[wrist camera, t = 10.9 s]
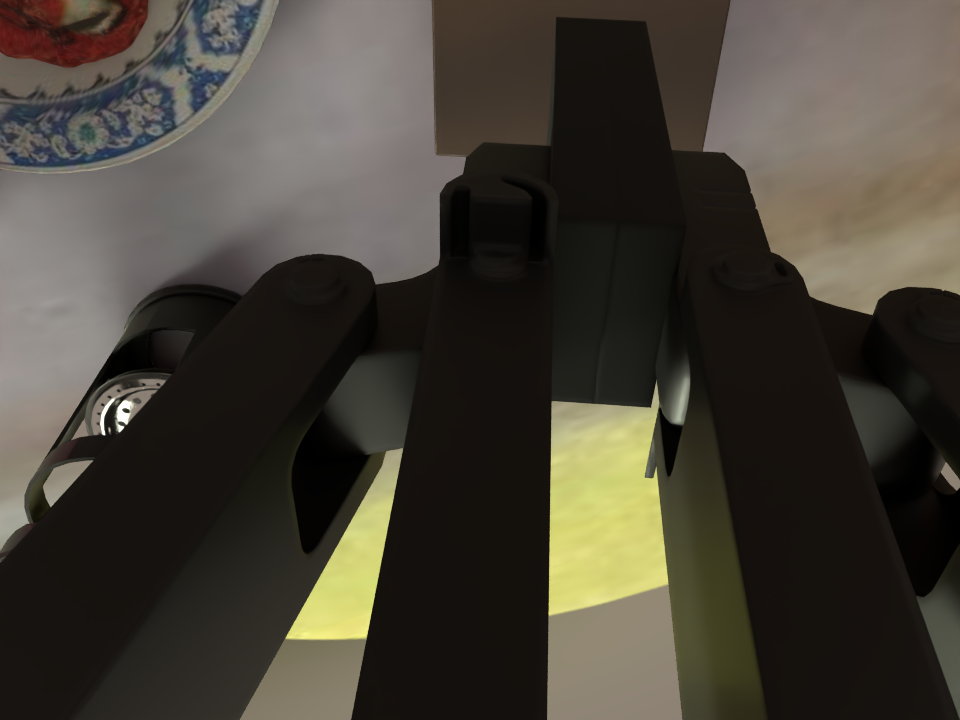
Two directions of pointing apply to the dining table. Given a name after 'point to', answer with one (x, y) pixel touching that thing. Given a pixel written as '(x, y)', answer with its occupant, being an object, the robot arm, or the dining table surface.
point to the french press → (126, 382)
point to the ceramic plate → (116, 75)
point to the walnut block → (529, 58)
